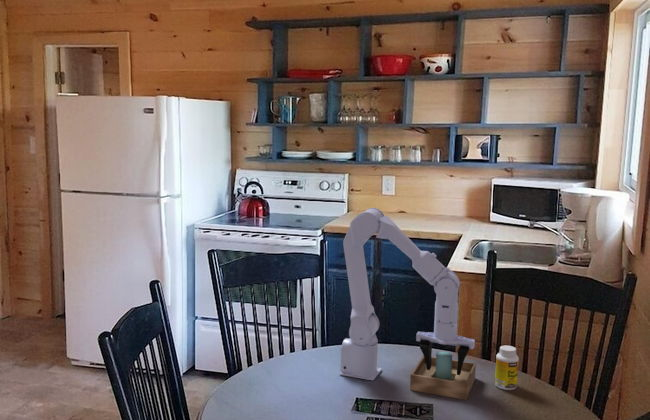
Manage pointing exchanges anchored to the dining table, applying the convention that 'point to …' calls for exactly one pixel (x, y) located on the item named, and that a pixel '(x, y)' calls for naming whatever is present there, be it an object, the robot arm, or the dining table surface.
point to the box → (454, 388)
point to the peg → (443, 365)
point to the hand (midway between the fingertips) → (443, 371)
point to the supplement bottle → (506, 368)
